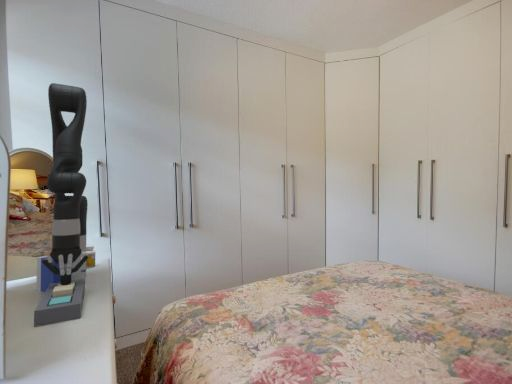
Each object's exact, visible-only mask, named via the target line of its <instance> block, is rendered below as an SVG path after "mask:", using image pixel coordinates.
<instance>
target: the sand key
mask: <svg viewBox="0 0 512 384" xmlns="http://www.w3.org/2000/svg"><path fill="white" fill-rule="evenodd" d="M70 294H74V284H71V285H64V286H56V287H55V288H54V290H53V297H57V296H64V295H70Z"/></svg>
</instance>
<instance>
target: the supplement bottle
mask: <svg viewBox="0 0 512 384" xmlns="http://www.w3.org/2000/svg"><path fill="white" fill-rule="evenodd" d="M94 248H95V246H94V245H92V244H90V245H86V255H88V259H87V260H86V270H87V269H92V268H94V267H96V250H95V249H94Z"/></svg>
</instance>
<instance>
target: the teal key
mask: <svg viewBox="0 0 512 384" xmlns="http://www.w3.org/2000/svg"><path fill="white" fill-rule="evenodd" d="M71 301H72V296H66V297H59V298H53V299H51V301H50V303H49V306H51V305H58V304H64V303H70V302H71Z"/></svg>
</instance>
